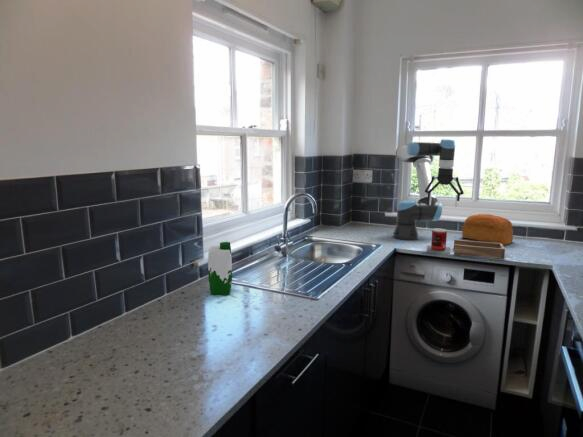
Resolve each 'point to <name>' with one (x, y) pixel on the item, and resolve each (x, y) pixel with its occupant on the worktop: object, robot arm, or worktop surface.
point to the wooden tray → (479, 249)
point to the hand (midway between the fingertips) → (442, 205)
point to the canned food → (439, 239)
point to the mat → (446, 251)
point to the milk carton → (220, 269)
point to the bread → (488, 229)
